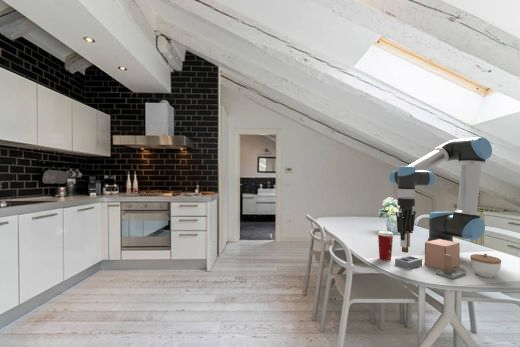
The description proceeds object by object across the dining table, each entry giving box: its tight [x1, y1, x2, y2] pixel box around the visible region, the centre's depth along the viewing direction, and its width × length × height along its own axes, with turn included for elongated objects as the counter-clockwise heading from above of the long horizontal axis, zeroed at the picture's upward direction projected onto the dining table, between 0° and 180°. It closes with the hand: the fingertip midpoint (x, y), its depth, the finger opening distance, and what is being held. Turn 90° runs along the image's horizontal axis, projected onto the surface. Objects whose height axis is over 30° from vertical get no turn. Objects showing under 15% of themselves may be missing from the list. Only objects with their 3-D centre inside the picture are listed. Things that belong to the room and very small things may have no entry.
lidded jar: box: [470, 253, 502, 279], centre depth 125 cm, size 11×11×9 cm
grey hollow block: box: [394, 255, 423, 270], centre depth 138 cm, size 11×7×3 cm, turn 121°
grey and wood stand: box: [435, 254, 466, 280], centre depth 125 cm, size 11×7×9 cm, turn 121°
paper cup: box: [377, 230, 394, 261], centre depth 148 cm, size 8×8×14 cm
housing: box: [424, 239, 461, 270], centre depth 139 cm, size 13×9×11 cm
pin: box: [401, 231, 409, 254], centre depth 136 cm, size 3×3×10 cm
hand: (405, 246), depth 136 cm, fingers closed on pin, 2 cm apart
